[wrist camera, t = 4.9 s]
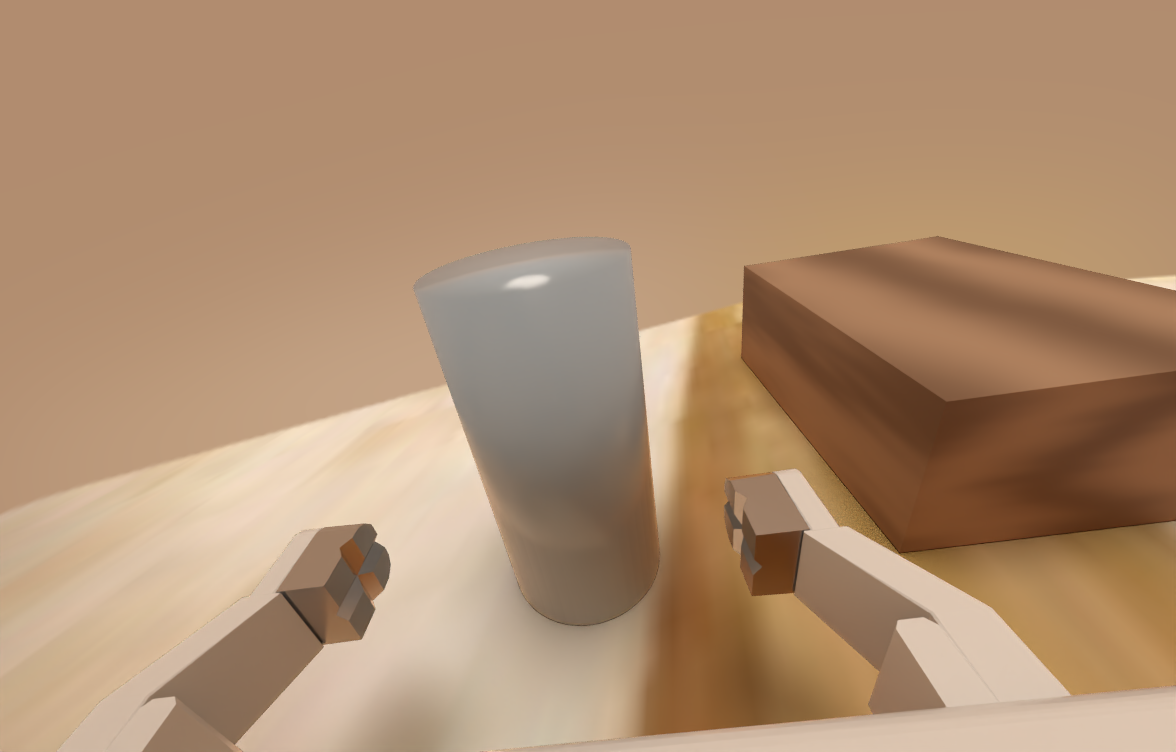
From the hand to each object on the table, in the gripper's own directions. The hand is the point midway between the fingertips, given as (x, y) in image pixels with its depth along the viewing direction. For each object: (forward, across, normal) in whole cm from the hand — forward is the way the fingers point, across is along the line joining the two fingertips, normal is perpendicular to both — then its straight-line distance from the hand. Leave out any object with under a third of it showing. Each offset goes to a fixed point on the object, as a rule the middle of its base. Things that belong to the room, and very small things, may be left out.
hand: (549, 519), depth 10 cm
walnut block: (+10, -16, +6) cm, 20 cm away
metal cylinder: (+4, 0, +6) cm, 7 cm away
